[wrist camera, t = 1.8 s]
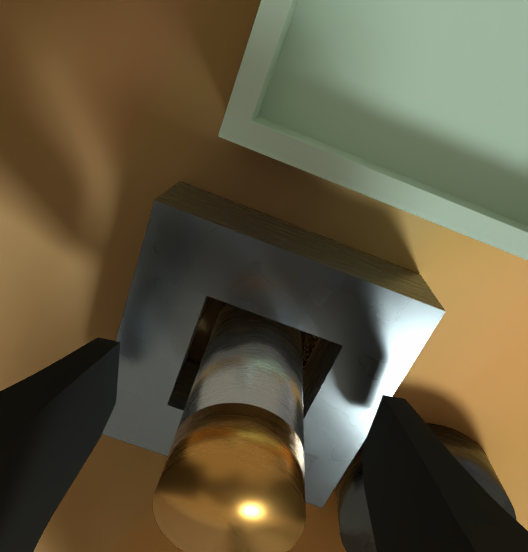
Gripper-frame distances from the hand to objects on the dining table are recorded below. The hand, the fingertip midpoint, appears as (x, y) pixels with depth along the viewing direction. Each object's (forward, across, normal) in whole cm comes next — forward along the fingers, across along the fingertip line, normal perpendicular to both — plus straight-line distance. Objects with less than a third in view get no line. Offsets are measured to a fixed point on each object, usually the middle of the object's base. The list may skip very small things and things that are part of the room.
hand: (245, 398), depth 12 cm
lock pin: (+3, 0, 0) cm, 4 cm away
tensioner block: (+3, -3, +2) cm, 5 cm away
